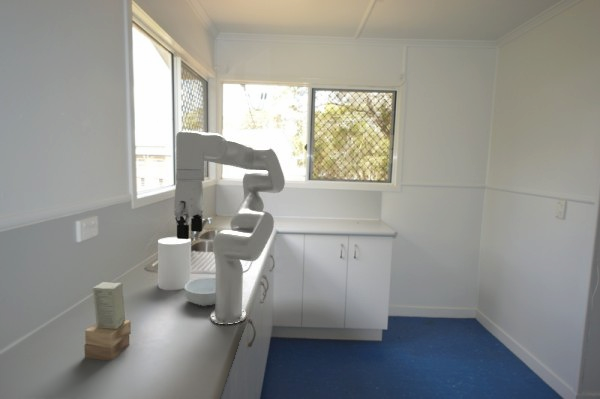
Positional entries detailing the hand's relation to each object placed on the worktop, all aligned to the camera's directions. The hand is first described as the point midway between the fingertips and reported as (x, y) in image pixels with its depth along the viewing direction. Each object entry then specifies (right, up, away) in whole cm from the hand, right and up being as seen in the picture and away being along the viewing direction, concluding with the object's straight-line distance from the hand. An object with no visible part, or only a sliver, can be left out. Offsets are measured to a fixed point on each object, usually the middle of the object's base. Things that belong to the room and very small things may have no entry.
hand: (190, 234), depth 97 cm
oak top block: (-23, -30, 0) cm, 38 cm away
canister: (-24, -28, +52) cm, 63 cm away
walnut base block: (-24, -34, 0) cm, 41 cm away
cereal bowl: (-5, -30, +35) cm, 47 cm away
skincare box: (-23, -26, -1) cm, 34 cm away
